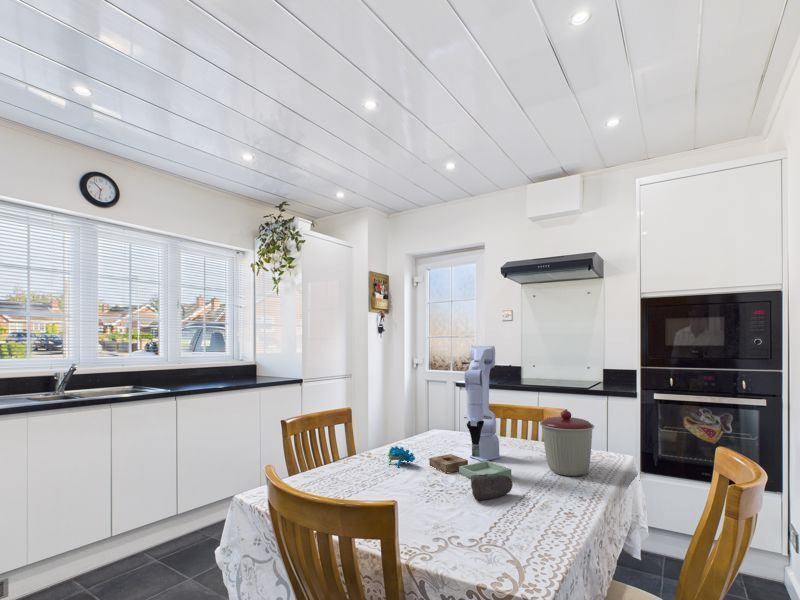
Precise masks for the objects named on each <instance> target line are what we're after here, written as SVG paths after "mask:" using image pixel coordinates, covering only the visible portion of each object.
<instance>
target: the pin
mask: <svg viewBox="0 0 800 600" xmlns="http://www.w3.org/2000/svg"><path fill="white" fill-rule="evenodd" d="M471 455H472V456H473V457H479V456H480V451H479V444H478V445H477V444H472V443H471Z"/></svg>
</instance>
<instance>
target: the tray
mask: <svg viewBox="0 0 800 600" xmlns="http://www.w3.org/2000/svg"><path fill="white" fill-rule="evenodd" d="M458 472H459V474H458V475H460V474H461V475H460V476H462V475H463V477H465V476H466V477H465V478H467V477H468V478H467V479H469V480H471V476H473V475H480V474H481V475H484V474H501V475H505V476H507V477H509V478H511V477H512V469H511V468H509V467H506V466H503V465H501V464H497V463H494V462H492V461H490V460H488V461H480V462H475V463H470V464H468V465H465V466H460V467H459V471H458Z"/></svg>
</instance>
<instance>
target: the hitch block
mask: <svg viewBox="0 0 800 600" xmlns="http://www.w3.org/2000/svg"><path fill="white" fill-rule="evenodd" d="M428 459H429V461H428V462H429V463H428V464H429V465H430V466H432V467H434V468H436V469H435V470H437V469H439V470H441V471H443V472H445V473H444V474H448V473H447V472H451V473H454V472H453V471H456V472H458V471H457V470H459V467H460V466H465V465H469V460H468V459H465V458H463V457H461V456H457V455H455V454H452V453H449V454H443V455H438V456H433V457H429V458H428ZM430 466H429V467H430ZM432 467H431V468H432ZM434 468H433V469H434ZM439 470H438V471H439ZM441 471H440V472H441ZM443 472H442V473H443Z"/></svg>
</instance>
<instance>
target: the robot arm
mask: <svg viewBox="0 0 800 600" xmlns="http://www.w3.org/2000/svg"><path fill="white" fill-rule="evenodd" d="M469 347H470V348H469V359H470V364H469V366H468V369H467V370H465V371H464V385H465V391H466V415H463V419H466V420H467V422H466V427H467V429H468V431H469V434H470V435H469V436H470V440H471V445H472V444H477V445H478V444H479V451H480V456H479V457H473V456H472V454H471V455H470V456H469V457H470V458H473V459H475V460H478V461H480V462H484V461H493V460H497V459H498V460H499V459H501V458H502V456H500V440H499V437H498V436H497V420H496V419H497V418H496V417H497V416H496V414H495V413H494V412H493V411H492V410H490V373H491V369H493V368H495V365H496V348H495V345H471V346H469Z"/></svg>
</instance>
